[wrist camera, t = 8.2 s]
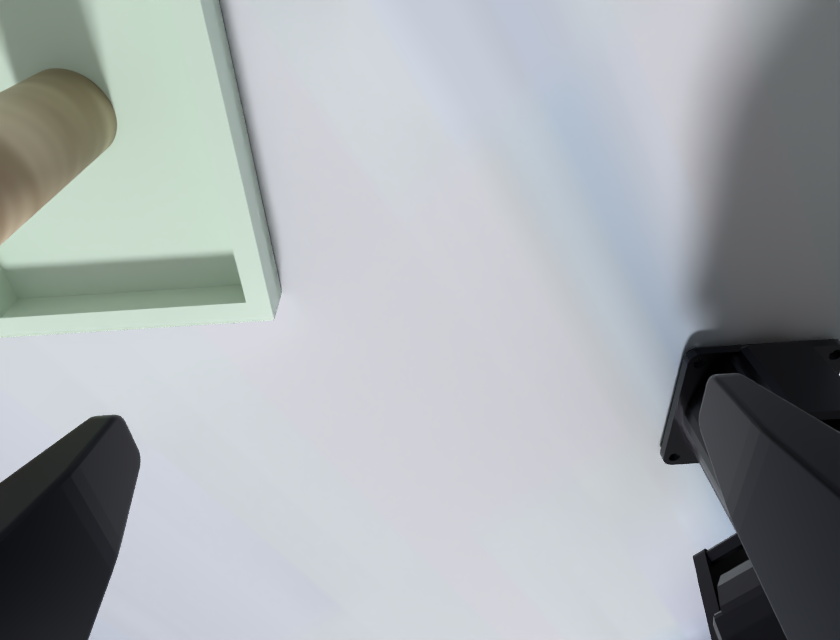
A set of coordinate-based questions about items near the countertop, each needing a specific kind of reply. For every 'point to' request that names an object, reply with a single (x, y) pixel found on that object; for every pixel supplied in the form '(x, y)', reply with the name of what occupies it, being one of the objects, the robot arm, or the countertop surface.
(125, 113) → the tray
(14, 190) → the dowel
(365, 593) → the countertop surface
